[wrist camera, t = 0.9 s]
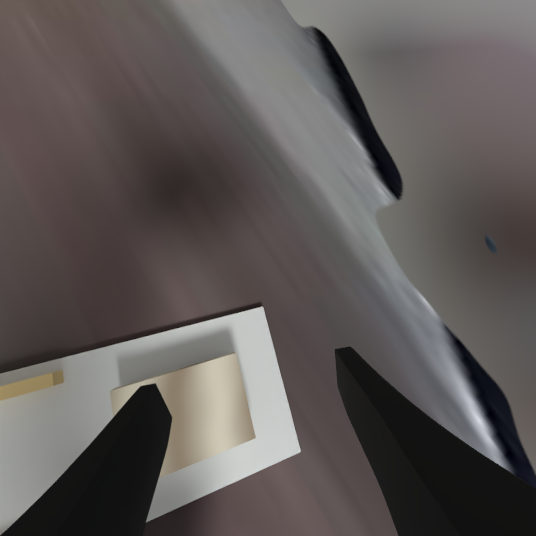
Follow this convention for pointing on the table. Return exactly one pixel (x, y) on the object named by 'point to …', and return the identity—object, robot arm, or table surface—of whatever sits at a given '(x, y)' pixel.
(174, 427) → the beige flat block
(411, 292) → the table surface
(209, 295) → the table surface
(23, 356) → the table surface
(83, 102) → the table surface
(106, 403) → the board
